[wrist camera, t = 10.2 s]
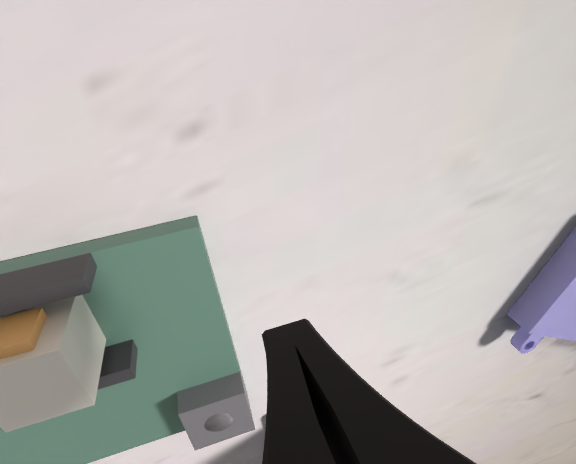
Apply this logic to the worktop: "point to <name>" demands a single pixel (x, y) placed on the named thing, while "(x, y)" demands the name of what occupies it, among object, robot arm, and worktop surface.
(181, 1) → the worktop surface
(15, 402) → the plug
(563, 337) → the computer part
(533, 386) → the worktop surface
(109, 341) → the board
